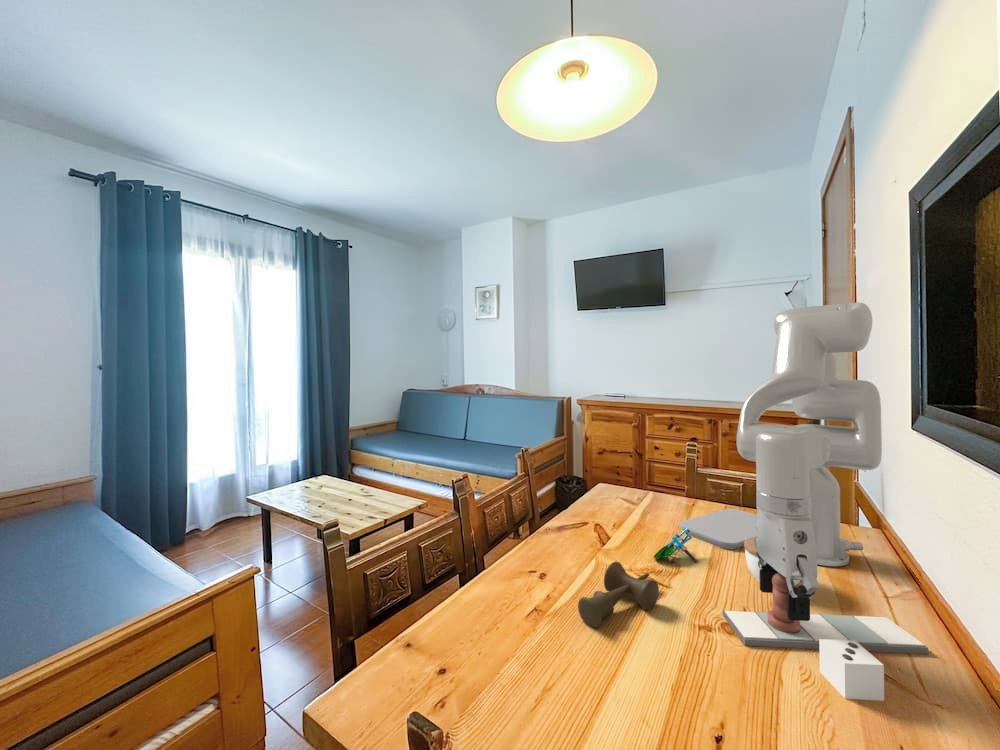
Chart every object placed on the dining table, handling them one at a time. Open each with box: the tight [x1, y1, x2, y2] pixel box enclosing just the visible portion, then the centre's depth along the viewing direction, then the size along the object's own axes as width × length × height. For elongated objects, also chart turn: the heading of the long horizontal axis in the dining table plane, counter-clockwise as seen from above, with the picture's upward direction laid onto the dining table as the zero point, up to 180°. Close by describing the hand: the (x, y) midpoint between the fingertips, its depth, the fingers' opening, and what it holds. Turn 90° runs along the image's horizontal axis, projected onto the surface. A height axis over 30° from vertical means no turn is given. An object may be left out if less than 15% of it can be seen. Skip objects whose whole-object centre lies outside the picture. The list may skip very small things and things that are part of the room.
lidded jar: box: [743, 537, 801, 587], centre depth 85 cm, size 11×11×9 cm
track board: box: [722, 610, 929, 655], centre depth 69 cm, size 28×8×1 cm, turn 84°
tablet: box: [679, 508, 757, 550], centre depth 113 cm, size 16×26×2 cm, turn 118°
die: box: [818, 639, 885, 702], centre depth 58 cm, size 5×5×5 cm
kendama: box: [577, 561, 660, 629], centre depth 78 cm, size 6×10×20 cm
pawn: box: [767, 573, 800, 634], centre depth 69 cm, size 5×5×9 cm
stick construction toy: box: [653, 529, 698, 564], centre depth 96 cm, size 12×7×8 cm
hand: (783, 604), depth 69 cm, fingers open, 7 cm apart
